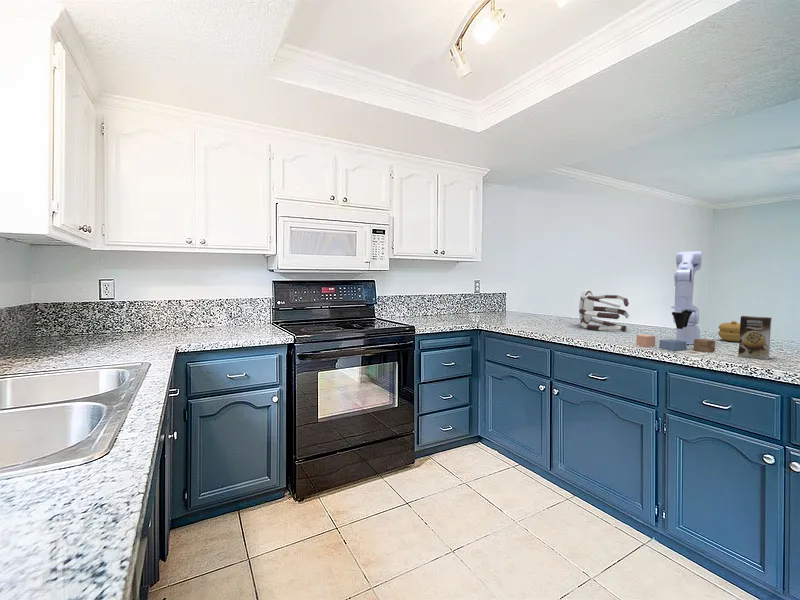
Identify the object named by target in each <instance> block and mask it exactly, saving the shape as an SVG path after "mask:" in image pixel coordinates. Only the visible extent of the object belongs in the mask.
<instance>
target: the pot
mask: <svg viewBox="0 0 800 600" xmlns="http://www.w3.org/2000/svg"><path fill="white" fill-rule="evenodd" d="M718 329H719V330H718V332H717V334H718V336H719V337H720V339H721V340H723V341H726V342H731V343H732V342H733V343H735V342H737V343H739V336H740V323H739V322H737V321H736V320H733V321H732V320H731V321H730V322H723V323H720V324H719V325H718Z"/></svg>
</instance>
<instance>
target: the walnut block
mask: <svg viewBox="0 0 800 600" xmlns="http://www.w3.org/2000/svg"><path fill="white" fill-rule="evenodd" d="M694 350H695V351H696V352H699V351H701V352H702V353H704V352H709V353H715V352H714V351H716V340H713V339H707V338H700V339H694V344H693V351H694Z"/></svg>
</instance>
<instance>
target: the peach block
mask: <svg viewBox="0 0 800 600" xmlns="http://www.w3.org/2000/svg"><path fill="white" fill-rule="evenodd" d="M635 342H636V344H635V345H639V346H638V347H641V346H644V347H643V348H652V347H651V346H655V347H656V335H652V334H637V335H636V341H635Z"/></svg>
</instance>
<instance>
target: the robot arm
mask: <svg viewBox="0 0 800 600" xmlns="http://www.w3.org/2000/svg"><path fill="white" fill-rule="evenodd" d="M702 260H703V252H702V251H701V250H698V251H695V250H694V251H677V252H676V253H675V264H676V270H674V273H673V281H674V287H675V288H674V306H670V307H671V309H674V310H673V311H672V312H671V315H672V317H673V318H672V319H673V324H675V327H676V332H675V335H676V337H675V340H679V341H686V345H687V344H689V345H694V339H701V338H700V337H701V329H700V327H699V326H698V325H699V322H700V309H699V307H697V306H696V305H694V304H693V298H694V285H695V284H694V281H695V275H696V272H697V271H699V270H701V267H702Z"/></svg>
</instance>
